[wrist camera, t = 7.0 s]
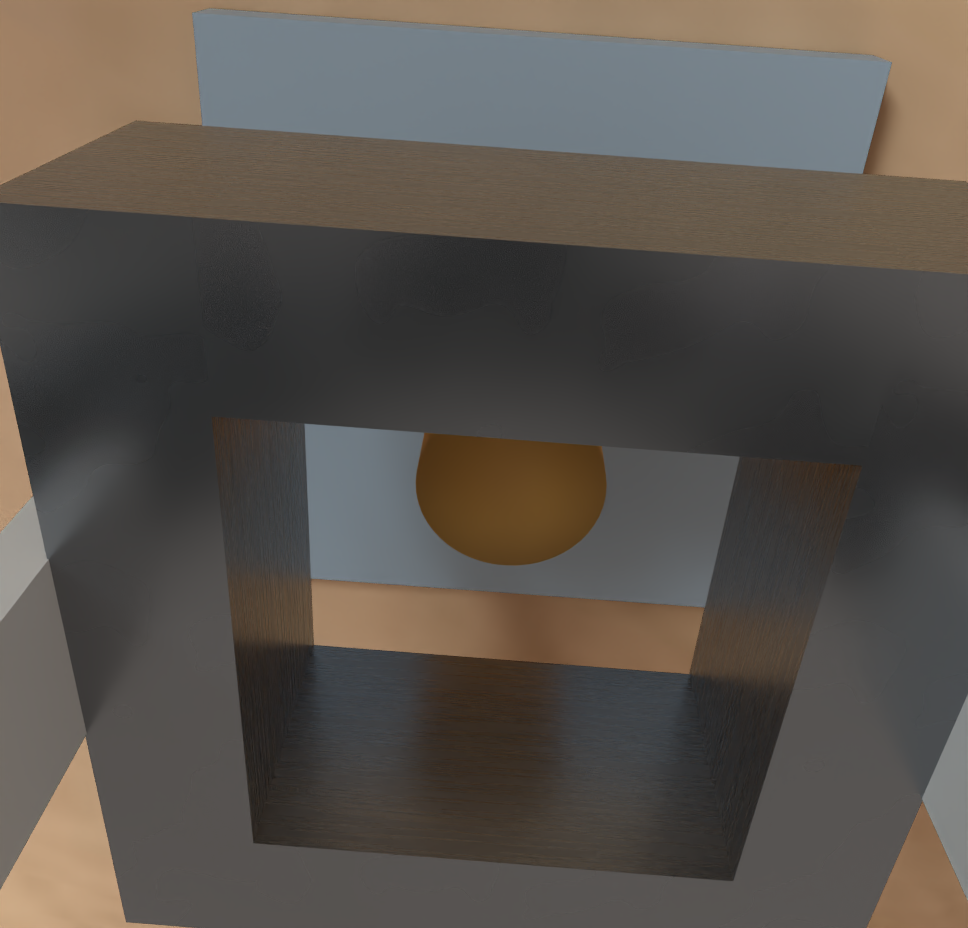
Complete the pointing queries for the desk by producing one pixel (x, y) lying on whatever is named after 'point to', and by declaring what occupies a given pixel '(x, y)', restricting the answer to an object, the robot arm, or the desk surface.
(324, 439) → the keeper
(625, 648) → the desk surface
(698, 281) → the gray square socket block
